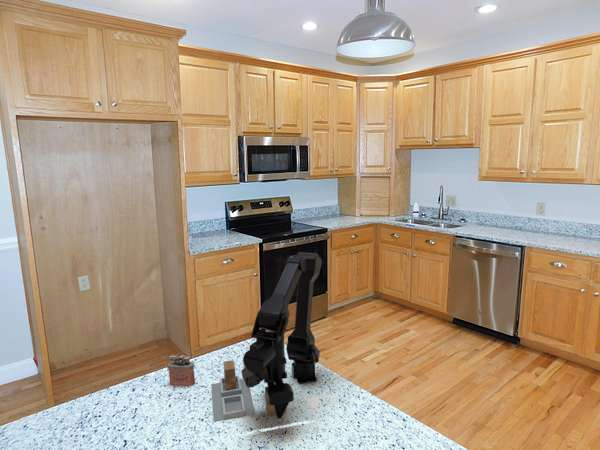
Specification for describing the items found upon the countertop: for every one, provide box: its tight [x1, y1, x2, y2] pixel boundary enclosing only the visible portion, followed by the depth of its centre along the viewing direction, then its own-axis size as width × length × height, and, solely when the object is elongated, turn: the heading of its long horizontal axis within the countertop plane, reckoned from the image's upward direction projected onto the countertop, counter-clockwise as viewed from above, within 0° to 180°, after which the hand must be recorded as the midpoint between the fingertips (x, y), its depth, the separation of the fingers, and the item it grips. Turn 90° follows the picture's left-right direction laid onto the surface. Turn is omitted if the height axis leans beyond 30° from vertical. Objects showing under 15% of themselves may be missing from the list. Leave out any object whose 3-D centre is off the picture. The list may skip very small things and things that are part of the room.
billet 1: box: [222, 360, 237, 391], centre depth 116 cm, size 3×5×8 cm, turn 15°
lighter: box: [167, 354, 196, 387], centre depth 119 cm, size 8×3×10 cm, turn 84°
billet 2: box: [264, 385, 287, 417], centre depth 106 cm, size 3×5×8 cm, turn 104°
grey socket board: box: [210, 375, 256, 423], centre depth 112 cm, size 11×18×2 cm, turn 14°
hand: (275, 407), depth 106 cm, fingers open, 9 cm apart
